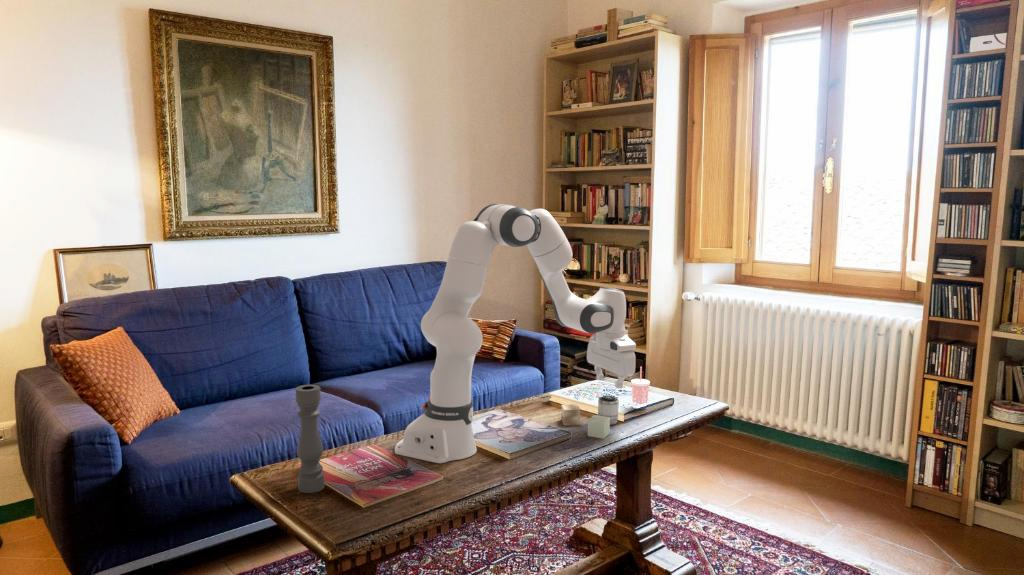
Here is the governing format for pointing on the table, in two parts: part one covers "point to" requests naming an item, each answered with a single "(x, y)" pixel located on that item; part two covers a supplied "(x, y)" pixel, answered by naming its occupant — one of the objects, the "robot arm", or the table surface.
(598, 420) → the sage cube
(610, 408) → the potted succulent
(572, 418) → the birch cube
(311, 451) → the candle holder
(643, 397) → the beverage cup
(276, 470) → the table surface
